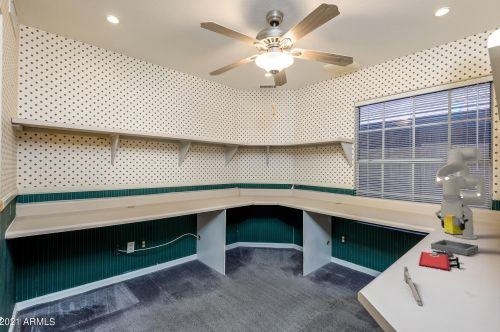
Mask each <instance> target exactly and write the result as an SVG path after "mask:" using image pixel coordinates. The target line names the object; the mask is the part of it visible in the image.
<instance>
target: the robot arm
mask: <svg viewBox="0 0 500 332" xmlns="http://www.w3.org/2000/svg"><path fill="white" fill-rule="evenodd" d="M446 157H447V163H446V164H445V165H444V166H442V167H440V168H439V169H438V170H436V171H437V172H436V174H435V180H434V184H435V187H436V188H438V189H442V200H441V202H440V203H441V204H440V210H438V211H435V212H434V215H436V217H437V218H438V219H439V220H440V223H441V224H440V225H441V228H443V229H444V217H446V215H453V216H455V217H456V218H457V219H459V220H460V221H461V223H460V228H461V231H463V235H452V236H453V237H455V238H459V239H464V240H465V239H467V240H477V239H478V236H477V235H475V233H474V214H473V210H472V209H471V208H470V207H469V205H470V206H485V205H487V202H488V201H487V200H488V197H487V181H486V178H485V176H484V175H482V174H471V171H470V166H469V165H468V164H467V163H465V162H479V161H480V160H481V158H482V151H481V149H479V148H478V147H474V146H467V147H457V148H456V147H455V148H452V149H450V150H448V151H447V152H446ZM452 174H453V176H452ZM466 189H467V190H466ZM469 189H470V190H469Z"/></svg>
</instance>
